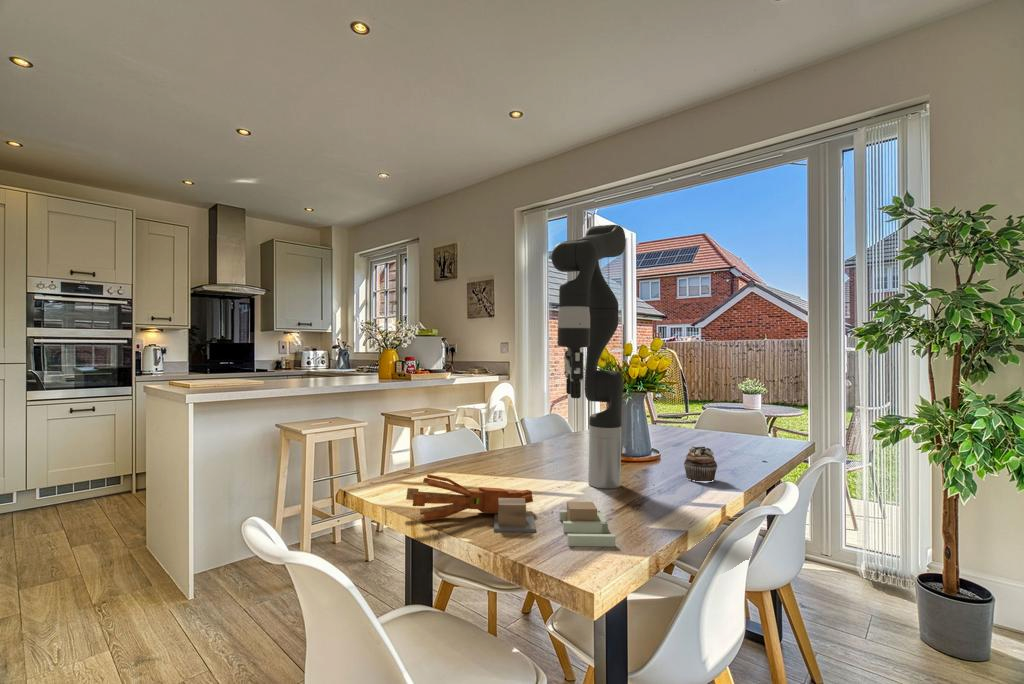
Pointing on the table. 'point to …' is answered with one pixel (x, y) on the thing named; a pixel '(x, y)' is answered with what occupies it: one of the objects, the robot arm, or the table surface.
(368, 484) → the table surface
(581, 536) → the rack
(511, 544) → the table surface
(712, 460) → the cupcake
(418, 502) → the toy
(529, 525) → the pad
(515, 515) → the block
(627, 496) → the table surface
